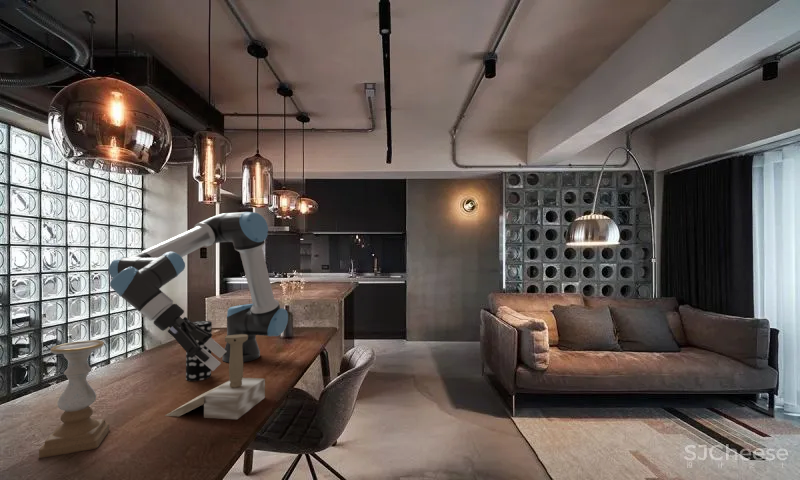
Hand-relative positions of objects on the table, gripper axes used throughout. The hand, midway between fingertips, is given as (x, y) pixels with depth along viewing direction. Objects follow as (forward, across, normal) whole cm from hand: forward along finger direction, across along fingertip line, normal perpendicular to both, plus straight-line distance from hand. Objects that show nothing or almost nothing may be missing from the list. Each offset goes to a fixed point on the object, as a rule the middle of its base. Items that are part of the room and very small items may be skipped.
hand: (220, 360), depth 115 cm
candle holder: (-11, +11, -32) cm, 36 cm away
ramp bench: (+11, -3, -12) cm, 16 cm away
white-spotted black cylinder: (+2, -34, -18) cm, 39 cm away
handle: (+9, 0, -3) cm, 9 cm away
